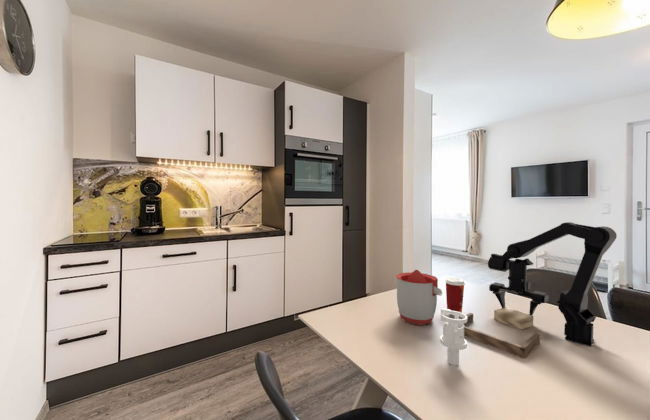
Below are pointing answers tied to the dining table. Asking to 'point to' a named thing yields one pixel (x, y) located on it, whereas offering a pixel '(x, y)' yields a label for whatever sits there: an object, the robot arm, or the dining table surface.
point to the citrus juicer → (417, 297)
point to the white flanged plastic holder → (453, 334)
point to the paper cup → (454, 294)
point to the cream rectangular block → (513, 318)
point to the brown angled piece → (501, 340)
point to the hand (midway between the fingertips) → (516, 313)
